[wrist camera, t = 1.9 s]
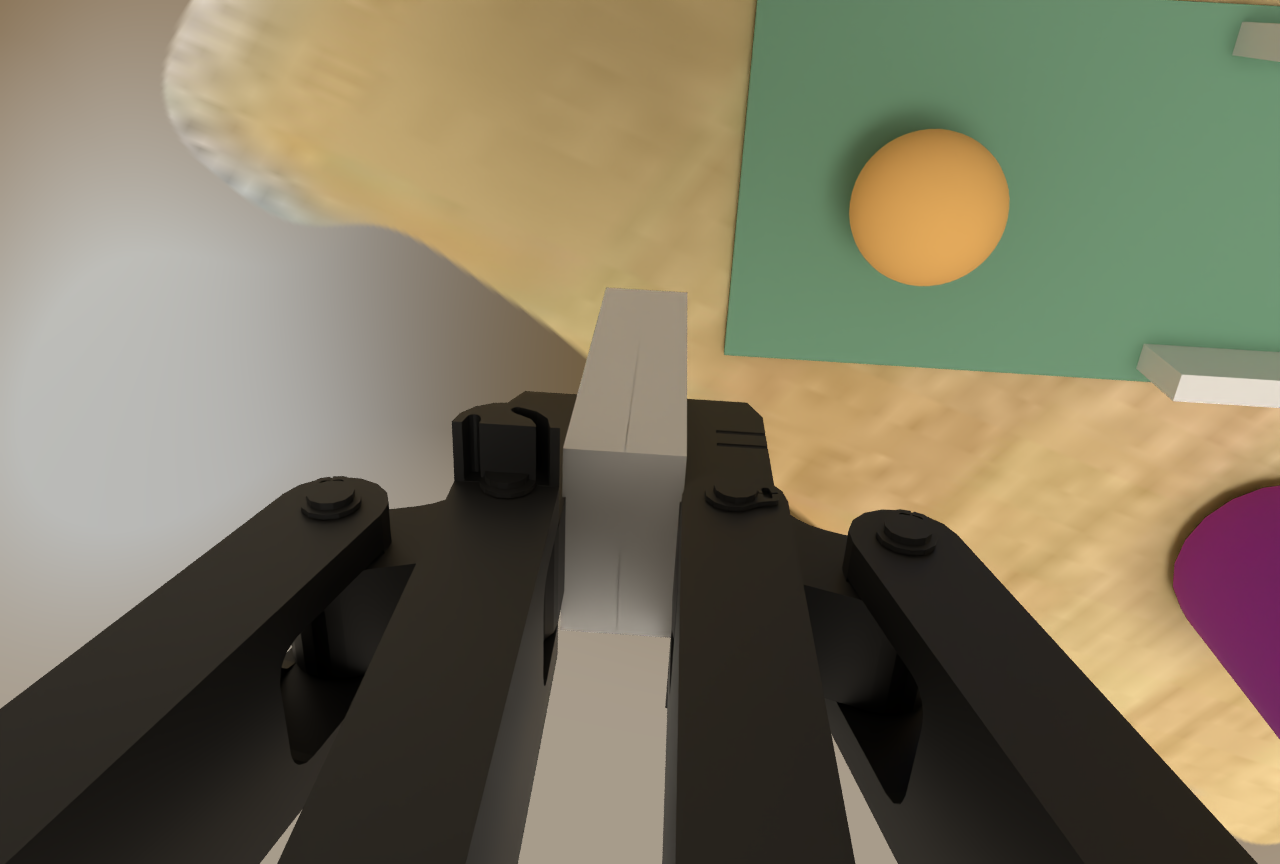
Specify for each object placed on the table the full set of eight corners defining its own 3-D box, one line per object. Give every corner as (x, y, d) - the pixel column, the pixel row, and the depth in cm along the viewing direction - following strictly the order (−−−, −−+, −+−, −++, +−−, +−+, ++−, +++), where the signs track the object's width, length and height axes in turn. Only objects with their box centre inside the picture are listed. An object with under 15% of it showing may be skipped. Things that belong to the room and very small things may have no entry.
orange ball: (998, 123, 31) (1049, 147, 27) (968, 266, 34) (1010, 311, 29) (850, 114, 32) (876, 137, 27) (830, 258, 34) (850, 301, 29)
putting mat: (1574, 22, 30) (1585, 22, 29) (1406, 394, 35) (1414, 398, 35) (758, -22, 30) (759, -22, 30) (724, 351, 36) (724, 354, 36)
